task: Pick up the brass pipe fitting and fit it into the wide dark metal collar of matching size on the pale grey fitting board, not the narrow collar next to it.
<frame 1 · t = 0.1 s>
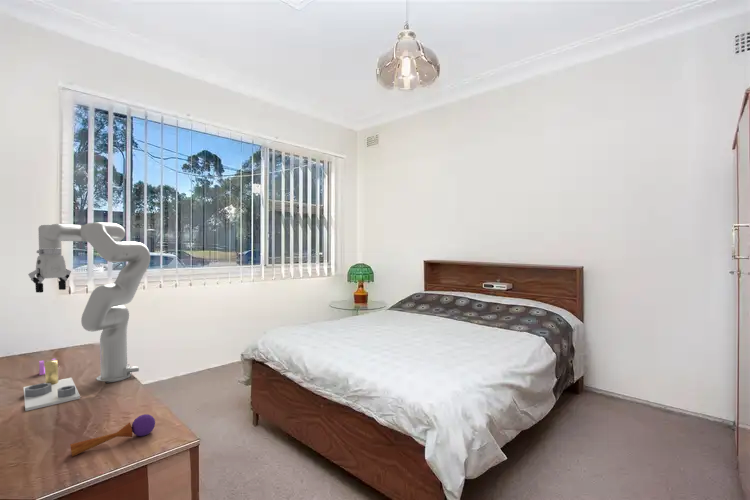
hand: (51, 290, 168), 37 cm above the dresser top, tool pointing down, fingers open, 9 cm apart
brass pipe fitting: (51, 383, 154), point 1 cm above the dresser top, touching fitting board
fitting board: (50, 393, 146), on the dresser top
bracket: (48, 373, 171), on the dresser top
kendama: (115, 444, 109), on the dresser top
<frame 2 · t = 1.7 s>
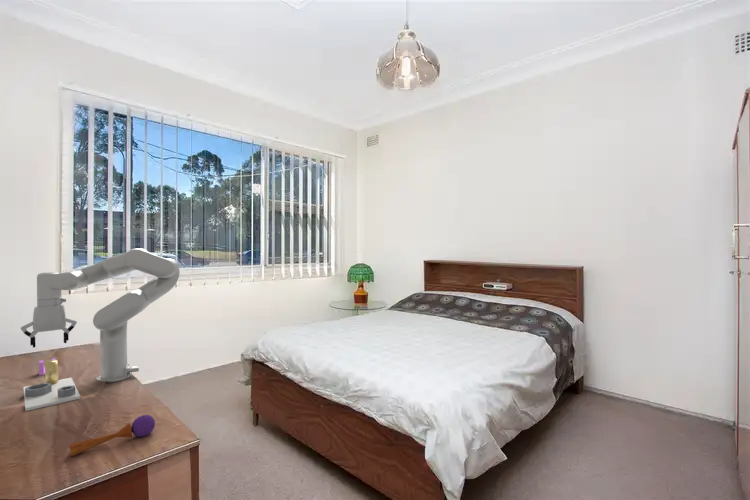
hand: (49, 344, 154), 17 cm above the dresser top, tool pointing down, fingers open, 9 cm apart
nothing on the dresser top moved.
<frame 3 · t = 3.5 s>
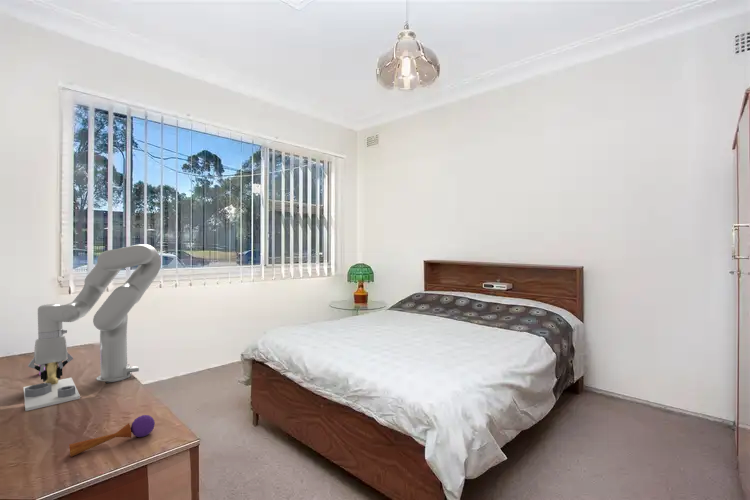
hand: (51, 378, 154), 3 cm above the dresser top, tool pointing down, fingers closed on brass pipe fitting, 4 cm apart
brass pipe fitting: (51, 383, 154), point 1 cm above the dresser top, touching fitting board, gripper
everything else where it was.
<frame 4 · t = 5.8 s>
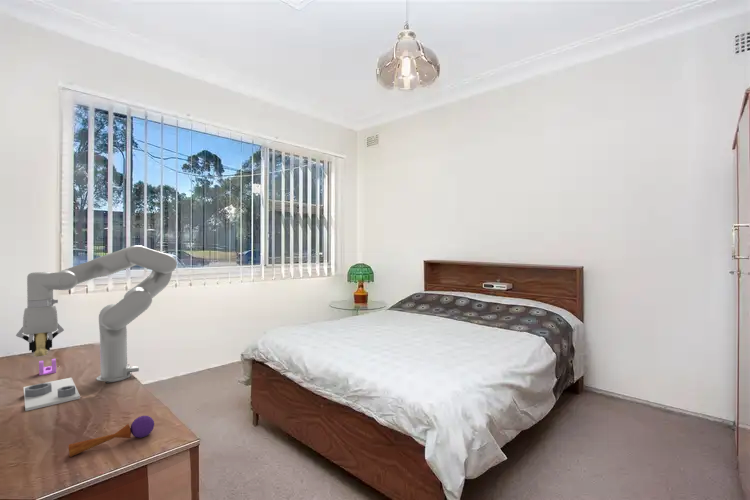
hand: (40, 350, 147), 16 cm above the dresser top, tool pointing down, fingers closed on brass pipe fitting, 4 cm apart
brass pipe fitting: (40, 354, 147), point 15 cm above the dresser top, touching gripper
everything else where it was.
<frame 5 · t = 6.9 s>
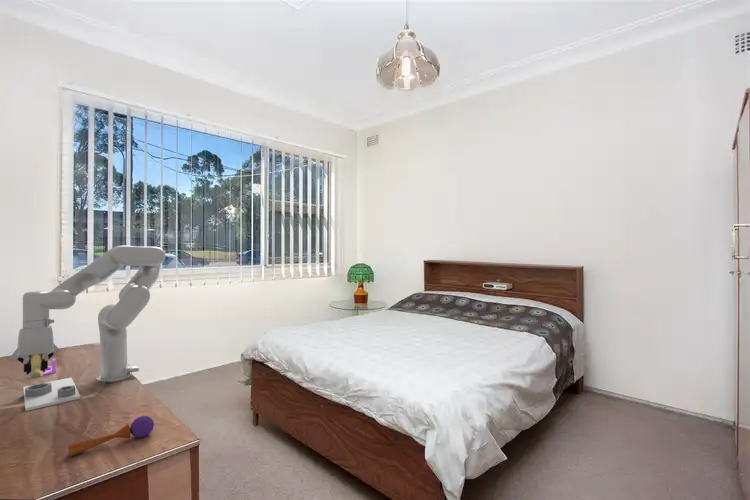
hand: (35, 371, 143), 9 cm above the dresser top, tool pointing down, fingers closed on brass pipe fitting, 4 cm apart
brass pipe fitting: (35, 376, 143), point 8 cm above the dresser top, touching gripper
everything else where it was.
when the fingers open (4 cm above the dresser top, at t = 8.0 s): brass pipe fitting drops 2 cm, resting on fitting board.
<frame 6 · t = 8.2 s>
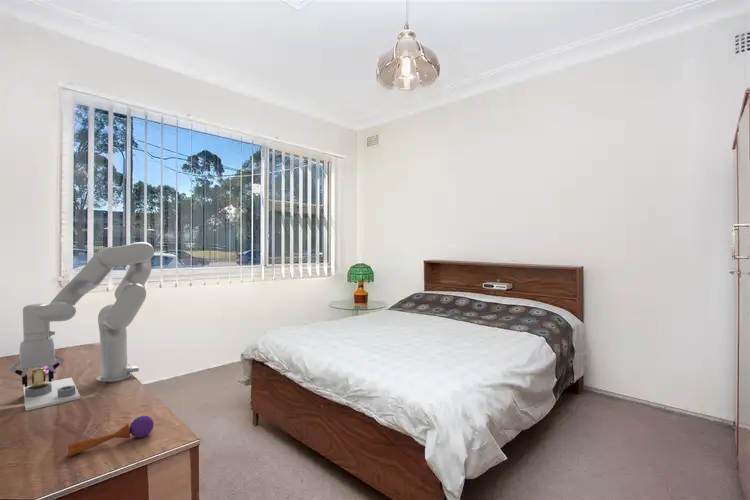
hand: (38, 383, 144), 5 cm above the dresser top, tool pointing down, fingers open, 6 cm apart
brass pipe fitting: (38, 392, 144), point 1 cm above the dresser top, touching fitting board
everything else where it was.
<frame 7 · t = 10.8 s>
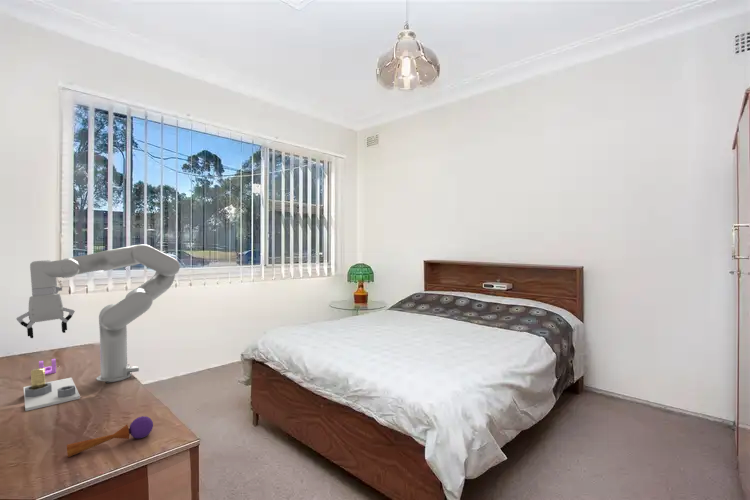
hand: (48, 334, 149), 22 cm above the dresser top, tool pointing down, fingers open, 9 cm apart
nothing on the dresser top moved.
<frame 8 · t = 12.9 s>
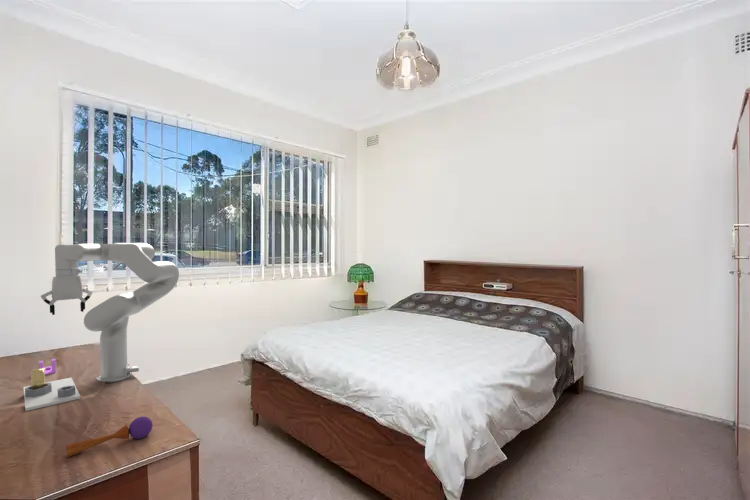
hand: (68, 312, 162), 28 cm above the dresser top, tool pointing down, fingers open, 9 cm apart
nothing on the dresser top moved.
at the end: brass pipe fitting 0.0 cm from the target spot on the fitting board, point 1.0 cm above the fitting board's base; brass pipe fitting tilted 1°; the gripper is holding nothing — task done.
